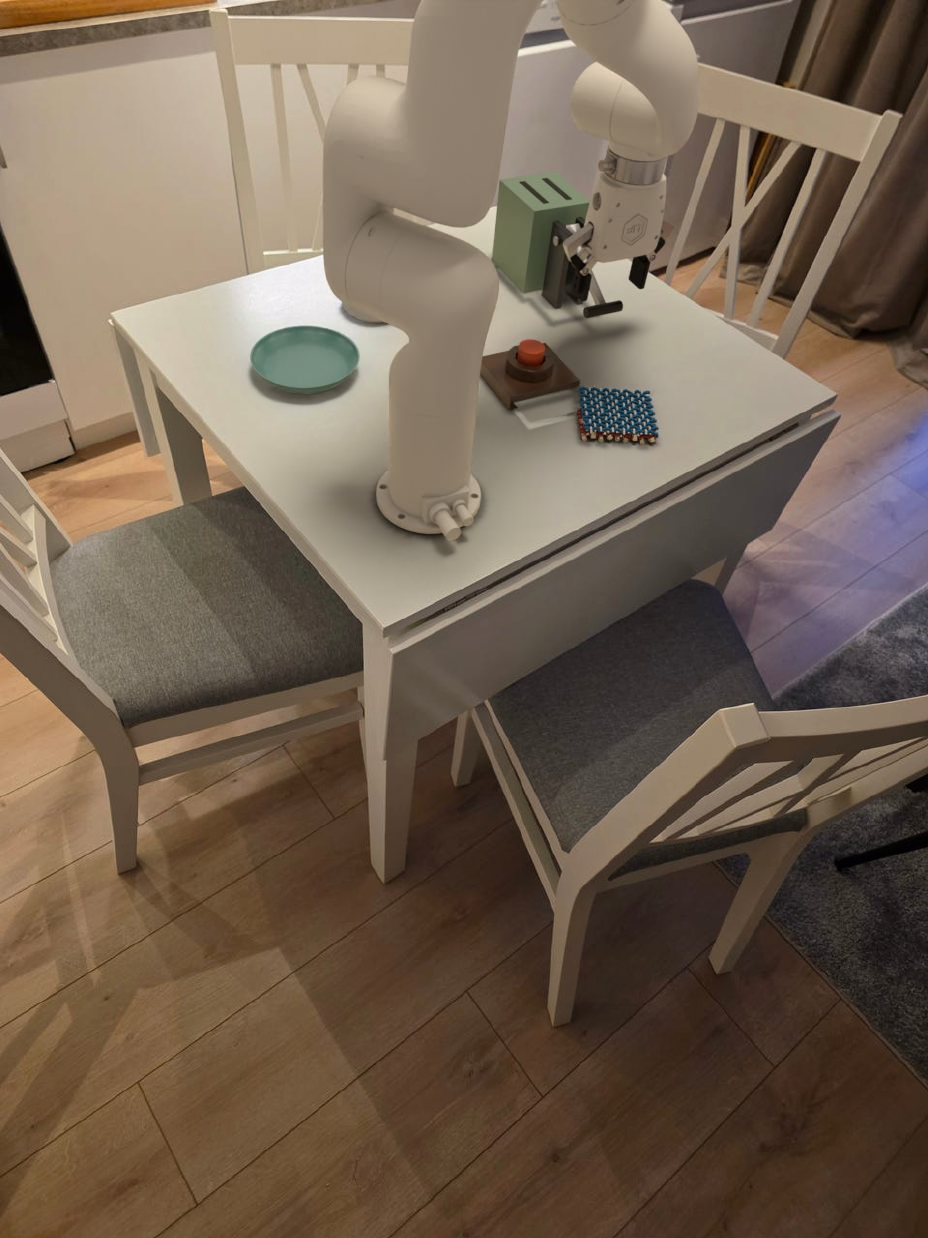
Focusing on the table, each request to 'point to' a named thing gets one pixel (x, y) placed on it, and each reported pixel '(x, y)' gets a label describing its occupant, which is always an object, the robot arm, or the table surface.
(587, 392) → the woven mat
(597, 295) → the lever
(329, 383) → the saucer
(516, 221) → the toaster
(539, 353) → the button
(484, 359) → the control block
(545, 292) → the bracket
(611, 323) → the table surface
